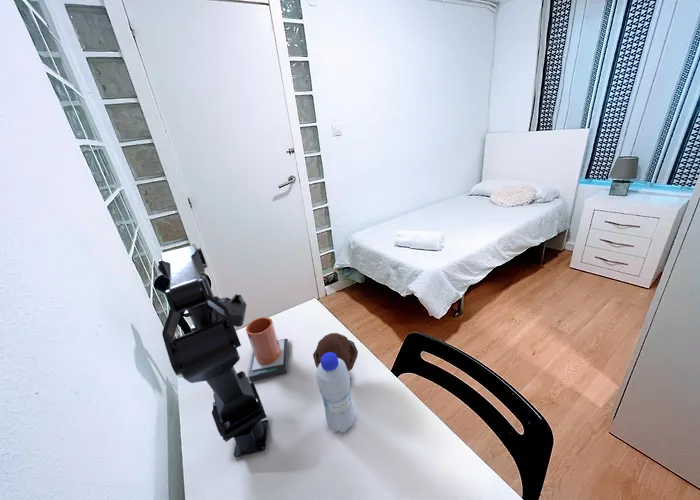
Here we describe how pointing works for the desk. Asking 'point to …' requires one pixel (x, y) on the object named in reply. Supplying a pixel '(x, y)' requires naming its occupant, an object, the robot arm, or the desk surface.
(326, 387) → the bottle
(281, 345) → the scale
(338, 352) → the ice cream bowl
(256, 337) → the tumbler
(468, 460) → the desk surface
